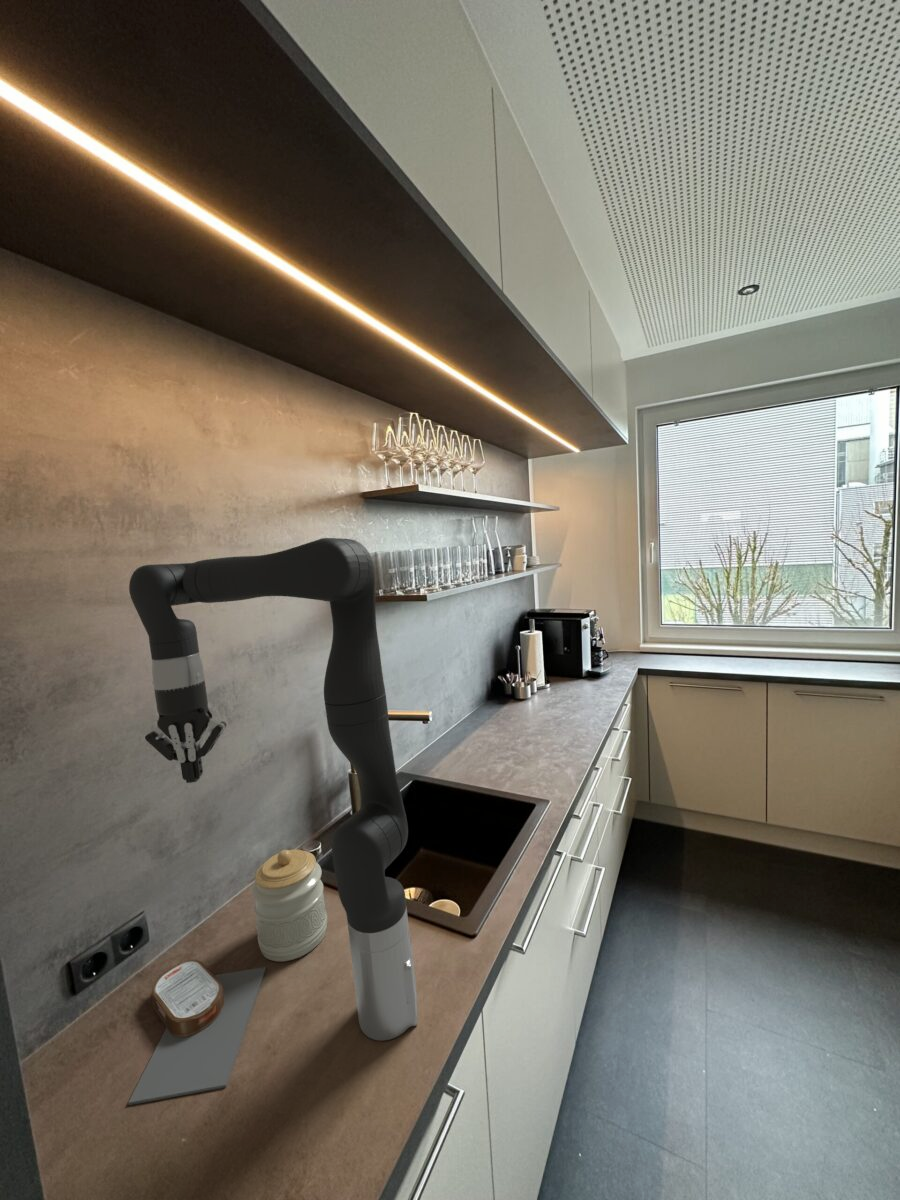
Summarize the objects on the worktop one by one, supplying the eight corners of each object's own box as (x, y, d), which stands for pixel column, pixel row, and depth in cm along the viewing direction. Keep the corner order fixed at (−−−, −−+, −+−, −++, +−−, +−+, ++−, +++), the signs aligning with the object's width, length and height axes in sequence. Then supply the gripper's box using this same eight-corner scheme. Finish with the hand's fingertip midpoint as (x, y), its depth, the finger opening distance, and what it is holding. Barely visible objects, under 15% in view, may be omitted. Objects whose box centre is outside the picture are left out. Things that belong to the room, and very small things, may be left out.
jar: (303, 969, 87) (292, 876, 85) (244, 958, 90) (232, 868, 89) (340, 916, 99) (330, 834, 98) (286, 908, 103) (276, 829, 101)
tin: (180, 1047, 73) (234, 1009, 80) (179, 1027, 73) (233, 990, 80) (144, 998, 83) (195, 967, 90) (143, 980, 83) (194, 950, 89)
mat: (266, 968, 87) (265, 966, 87) (225, 1087, 68) (225, 1084, 68) (191, 981, 86) (191, 978, 86) (128, 1105, 66) (128, 1102, 66)
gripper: (228, 672, 86) (240, 766, 87) (150, 681, 85) (164, 776, 86) (211, 682, 78) (225, 785, 80) (125, 692, 77) (141, 796, 78)
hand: (193, 780), depth 83 cm, fingers closed
